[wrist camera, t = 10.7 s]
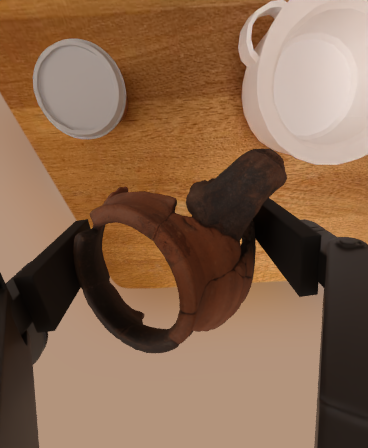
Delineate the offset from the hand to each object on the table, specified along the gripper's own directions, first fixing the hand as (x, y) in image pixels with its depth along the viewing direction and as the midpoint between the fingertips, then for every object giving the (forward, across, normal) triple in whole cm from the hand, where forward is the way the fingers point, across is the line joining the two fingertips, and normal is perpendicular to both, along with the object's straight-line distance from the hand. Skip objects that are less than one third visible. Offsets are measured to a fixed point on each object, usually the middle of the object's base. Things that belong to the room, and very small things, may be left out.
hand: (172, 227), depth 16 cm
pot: (+26, +19, +8) cm, 33 cm away
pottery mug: (0, +1, 0) cm, 1 cm away
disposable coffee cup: (+26, -8, +11) cm, 29 cm away
